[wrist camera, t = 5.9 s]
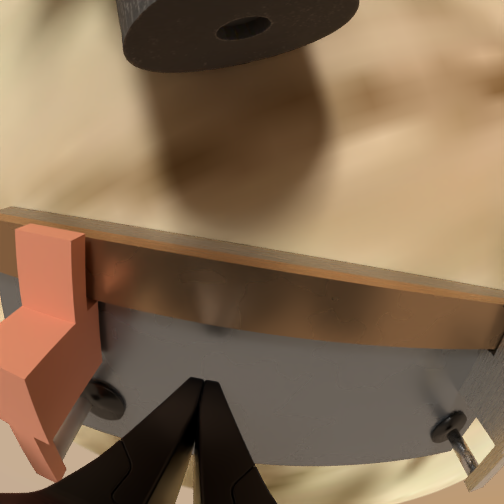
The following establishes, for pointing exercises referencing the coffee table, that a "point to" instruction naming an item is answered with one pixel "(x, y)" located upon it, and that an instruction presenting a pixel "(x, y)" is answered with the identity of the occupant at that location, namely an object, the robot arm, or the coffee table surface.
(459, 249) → the coffee table surface
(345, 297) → the plate
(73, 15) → the coffee table surface
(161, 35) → the laser sight
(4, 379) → the block
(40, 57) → the coffee table surface
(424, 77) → the coffee table surface
